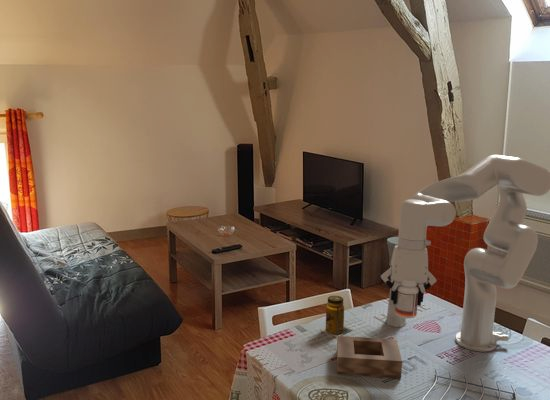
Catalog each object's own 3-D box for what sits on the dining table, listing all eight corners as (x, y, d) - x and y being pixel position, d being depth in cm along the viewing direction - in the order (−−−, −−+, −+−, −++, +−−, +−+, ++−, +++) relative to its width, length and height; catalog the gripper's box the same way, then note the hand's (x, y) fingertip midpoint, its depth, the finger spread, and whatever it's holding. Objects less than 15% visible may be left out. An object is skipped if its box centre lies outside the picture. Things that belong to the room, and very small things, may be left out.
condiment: (320, 330, 176) (321, 297, 173) (336, 323, 181) (337, 291, 179) (336, 338, 170) (337, 304, 168) (352, 330, 176) (354, 297, 173)
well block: (395, 355, 159) (396, 339, 158) (400, 378, 147) (402, 361, 145) (336, 352, 161) (337, 335, 160) (337, 374, 149) (337, 356, 147)
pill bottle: (406, 308, 154) (409, 272, 152) (421, 316, 149) (424, 279, 146) (390, 312, 151) (393, 275, 149) (404, 320, 146) (407, 282, 144)
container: (378, 323, 181) (382, 241, 175) (388, 314, 189) (393, 235, 182) (404, 331, 176) (409, 246, 170) (413, 321, 183) (419, 239, 177)
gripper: (439, 241, 149) (434, 300, 152) (379, 238, 150) (374, 296, 154) (445, 249, 141) (439, 310, 145) (382, 245, 143) (377, 306, 146)
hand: (406, 302), depth 149 cm, fingers closed on pill bottle, 6 cm apart
